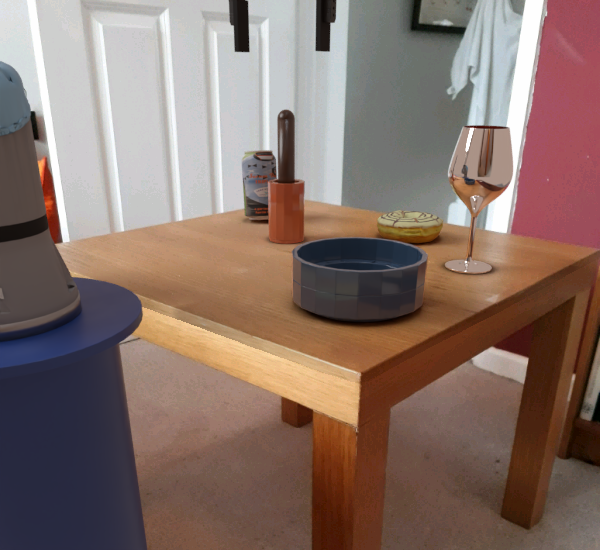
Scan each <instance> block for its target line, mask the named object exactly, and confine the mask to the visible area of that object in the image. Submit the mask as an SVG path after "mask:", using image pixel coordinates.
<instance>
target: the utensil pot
mask: <svg viewBox="0 0 600 550" xmlns="http://www.w3.org/2000/svg"><path fill="white" fill-rule="evenodd" d="M305 185H306V182H305V180H303V179H300V178H299V179H298V178H295V183H278V178H277V179H273V180H269V181H268V216H269V219H268V239H269V241H270V242H272V243H275V244H285V245H291V244H298V243H299V244H300V243H302V242H303V241H304V240H305V202H306V200H305V196H306V195H305V193H306V192H305V188H306V187H305Z"/></svg>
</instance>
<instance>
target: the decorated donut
mask: <svg viewBox="0 0 600 550" xmlns="http://www.w3.org/2000/svg"><path fill="white" fill-rule="evenodd" d="M376 222H377V223H376V228H377V231H378V234H379V235H380V236H381V238H382V239H388V240H395V241H400V242H404V243H408V244H425V243H429V242H433V241H434V240H435V239H436V238H438V236H439V235H440V234H441V232H442V229H443V228H444V227H443V226H444V220H443V219H442V218H441V217H439V216H437V215H435V214H433V213H429V212H426V211H417V210H416V211H415V210H413V211H412V210H402V209H400V210H398V209H397V210H393V211H390V212H387V213H384V214H381V215H380V216H379V217H378V218H377V220H376Z"/></svg>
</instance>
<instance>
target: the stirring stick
mask: <svg viewBox="0 0 600 550" xmlns="http://www.w3.org/2000/svg"><path fill="white" fill-rule="evenodd" d="M276 120H277V121H276V125H277V129H276V130H277V131H276V133H277V179H278V183H295V179H296V117H295V115H294V112H293V111H292V110H290V109H282V110H281V111H280V112H279V113H278V115H277V119H276Z"/></svg>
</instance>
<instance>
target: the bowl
mask: <svg viewBox="0 0 600 550" xmlns="http://www.w3.org/2000/svg"><path fill="white" fill-rule="evenodd" d="M428 260H429V254H428V253H427V252H426V251H425V250H424V249H423V248H421V247H419V246H417V245H415V244H412V243H404V242H400V241H395V240H389V239H385V238H382V237H381V238H380V237H365V236H339V237H338V236H337V237H328V238H320V239H315V240H309V241H306V242H304V243H300V244H298V245H296V246H295V247H294V248H293V249H292V250H291V298H292V302H293V303H294V304H296V305H297V306H298V307H300V309H302V310H305V311H308V312H310V313H313V314H314V315H317V316H319V317H322V318H327V319H330V320H336V321H342V322H353V323H368V322H369V323H373V322H382V321H388V320H393V319H396V318H399V317H402V316H405V315H408V314H411V313H414V312H415V311H417V310H418V309H420V308H421V307H422V306H423V304H424V299H425V290H426V289H425V288H426V280H427V271H428V270H427V269H428Z"/></svg>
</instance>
